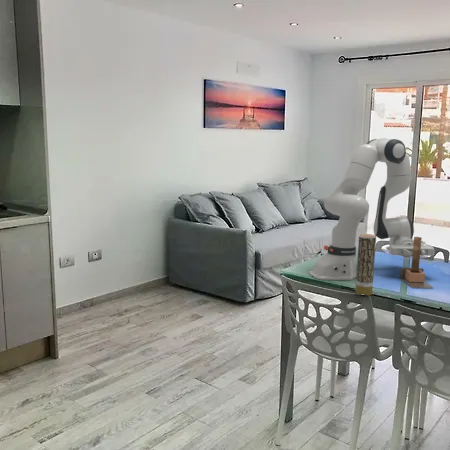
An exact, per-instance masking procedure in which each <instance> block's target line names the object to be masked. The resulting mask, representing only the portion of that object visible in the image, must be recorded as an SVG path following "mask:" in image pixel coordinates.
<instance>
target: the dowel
mask: <svg viewBox="0 0 450 450" xmlns="http://www.w3.org/2000/svg"><path fill="white" fill-rule="evenodd" d="M422 239H423V238H422V237H421V236H413V240H414V244H413V255H412V256H411V258H412V259H411V267H410V268H411V272H412V273H419V268H420V261H421V260H420V259H421V255H420V250H421V241H422Z"/></svg>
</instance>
